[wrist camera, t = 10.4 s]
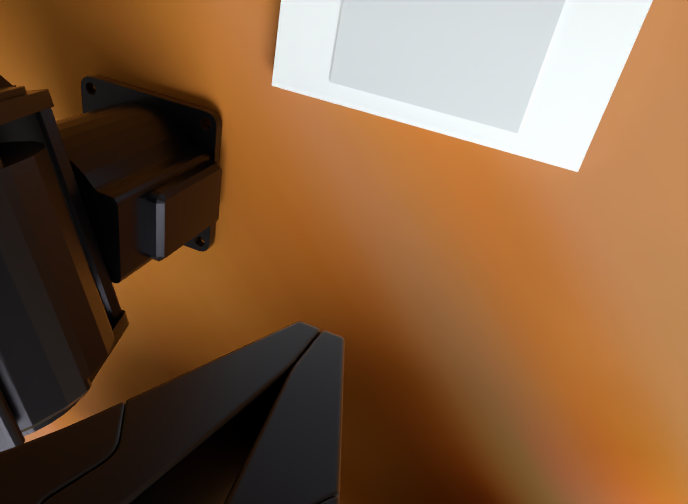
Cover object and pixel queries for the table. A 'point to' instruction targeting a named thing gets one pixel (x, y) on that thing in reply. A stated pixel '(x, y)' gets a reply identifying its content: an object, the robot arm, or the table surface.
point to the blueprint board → (466, 65)
